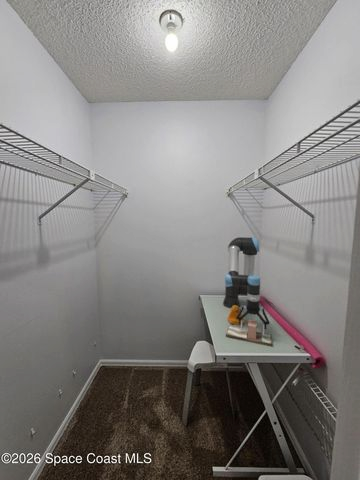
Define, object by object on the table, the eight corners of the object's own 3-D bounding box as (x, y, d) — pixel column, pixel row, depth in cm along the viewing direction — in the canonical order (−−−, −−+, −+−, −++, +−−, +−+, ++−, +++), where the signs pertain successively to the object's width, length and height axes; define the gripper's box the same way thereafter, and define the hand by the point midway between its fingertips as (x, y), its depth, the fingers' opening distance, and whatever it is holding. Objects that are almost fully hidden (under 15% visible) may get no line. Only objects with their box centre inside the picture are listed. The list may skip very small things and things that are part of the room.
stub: (248, 330, 139) (248, 319, 138) (256, 332, 137) (256, 320, 136) (247, 337, 130) (248, 325, 130) (255, 339, 128) (256, 326, 128)
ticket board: (228, 328, 145) (228, 325, 145) (271, 336, 135) (271, 333, 135) (225, 337, 134) (225, 334, 134) (272, 346, 124) (272, 343, 123)
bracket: (230, 324, 151) (231, 309, 150) (227, 320, 158) (228, 305, 157) (245, 324, 151) (245, 308, 151) (241, 319, 159) (241, 304, 158)
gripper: (232, 299, 133) (231, 330, 134) (274, 304, 124) (273, 338, 125) (234, 295, 140) (233, 325, 141) (274, 300, 131) (272, 332, 132)
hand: (252, 331), depth 133 cm, fingers open, 13 cm apart
